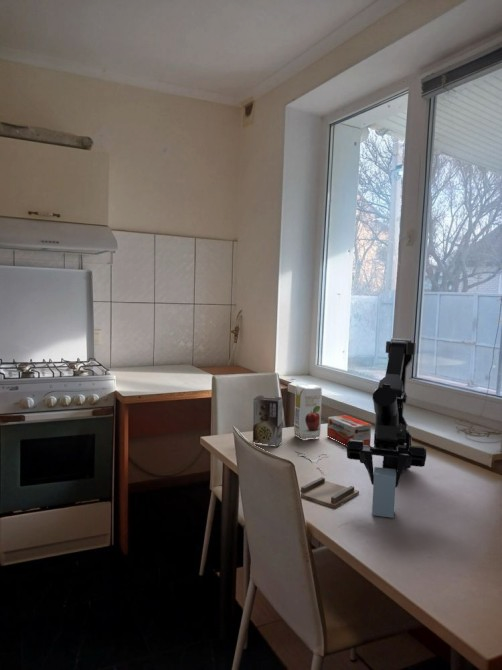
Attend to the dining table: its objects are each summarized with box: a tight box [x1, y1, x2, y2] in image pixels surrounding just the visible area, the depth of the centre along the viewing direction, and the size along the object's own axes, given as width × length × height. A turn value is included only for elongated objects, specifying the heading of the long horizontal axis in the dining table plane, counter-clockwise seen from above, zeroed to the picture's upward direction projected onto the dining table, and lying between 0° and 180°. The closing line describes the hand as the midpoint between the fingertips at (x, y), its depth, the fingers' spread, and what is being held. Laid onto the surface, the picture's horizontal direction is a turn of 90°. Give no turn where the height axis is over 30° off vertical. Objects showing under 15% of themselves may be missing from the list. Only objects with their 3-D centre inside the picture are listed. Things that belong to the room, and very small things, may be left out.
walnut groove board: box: [300, 476, 360, 509], centre depth 132 cm, size 12×12×2 cm
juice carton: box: [293, 384, 323, 439], centre depth 182 cm, size 8×9×19 cm
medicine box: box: [326, 414, 372, 446], centre depth 179 cm, size 15×8×8 cm, turn 27°
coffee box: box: [252, 395, 284, 447], centre depth 174 cm, size 9×6×16 cm
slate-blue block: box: [371, 466, 397, 519], centre depth 121 cm, size 5×5×10 cm
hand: (384, 485), depth 119 cm, fingers closed on slate-blue block, 5 cm apart
